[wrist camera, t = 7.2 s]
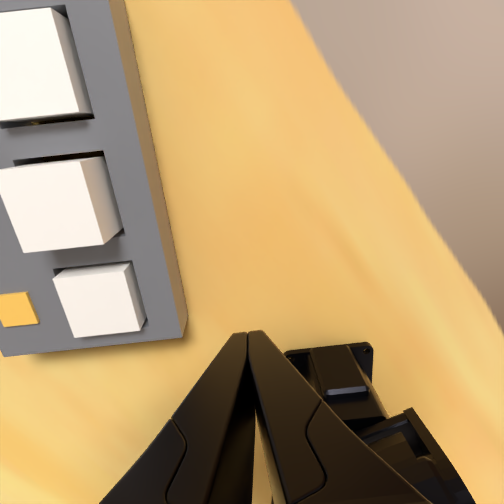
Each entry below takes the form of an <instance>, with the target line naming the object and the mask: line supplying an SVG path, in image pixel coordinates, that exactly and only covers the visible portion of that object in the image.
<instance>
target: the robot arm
mask: <svg viewBox="0 0 504 504" xmlns="http://www.w3.org/2000/svg"><path fill="white" fill-rule="evenodd" d="M366 348H367V350H365V351H363V350H364V349H366ZM289 357H292V358H291V359H288V358H289ZM372 368H373V348H372V346H371V345H370V343H368V342H362V343H352V344H343V345H334V346H325V347H316V348H307V349H298V350H289V351H286V352H285V353H284V354H283V353H282V352H281V351H280V350H279V349H278V348H277V346H276V345H275V344H274V343H273V342H272V341H271V339H270V338H269V337H268V336H267V335H266V334H265V333H264V331H262V330H257V331H250V332H248V334H247V332H240V333H233V334H232V335H231V337H230V338H229V339H228V341H227V342H226V343H225V345H224V346H223V347H222V349H221V350H220V352H219V353H218V354H217V356H216V357H215V358H214V360H213V361H212V362H211V364H210V365H209V366H208V368H207V369H206V370H205V372H204V373H203V375H202V376H201V377H200V379H199V380H198V381H197V383H196V384H195V385H194V387H193V388H192V389H191V391H190V392H189V394H188V395H187V396H186V398H185V399H184V400H183V402H182V403H181V404H180V406H179V407H178V408H177V410H176V411H175V412H174V414H173V415H172V417H171V419H169V420H168V422H167V423H166V424H165V426H164V427H163V429H162V430H161V431H160V433H159V434H158V435H157V436H156V438H155V439H154V440H153V442H152V443H151V444H150V445H149V447H148V448H147V449H146V450H145V452H144V453H143V454H142V455H141V456H140V458H139V459H138V460H137V461H136V462H135V463H134V464H133V466H132V467H131V468H130V469H129V470H128V471H127V473H126V474H125V475H124V476H123V477H122V478H121V479H120V480H119V482H118V483H117V484H116V485H115V486H114V487H113V488H112V489H111V491H110V492H109V493H108V494H107V495H106V496H105V497H104V498H103V499H102V501H101V502H100V503H99V504H252V487H253V465H254V444H255V419H256V416H257V422H258V427H259V432H260V437H261V442H262V447H263V452H264V457H265V462H266V467H267V472H268V477H269V482H270V487H271V491H272V503H271V504H476V503H475V501H474V499H473V498H472V496H471V494H470V493H469V491H468V489H467V487H466V486H465V484H464V483H463V481H462V479H461V478H460V476H459V474H458V473H457V471H456V470H455V468H454V467H453V465H452V464H451V462H450V461H449V459H448V458H447V456H446V455H445V453H444V452H443V450H442V449H441V448H440V446H439V445H438V443H437V442H436V441H435V439H434V438H433V436H432V435H431V433H430V432H429V431H428V429H427V428H426V426H425V425H424V423H423V422H422V421H421V419H420V418H419V416H418V415H417V414H416V412H415V411H414V409H413V408H412V407H411V408H409V409H406V410H404V411H403V412H404V413H401V414H399V415H396V416H393V417H391V418H389V416H388V414H387V412H386V411H385V409H384V407H383V405H382V403H381V401H380V399H379V397H378V395H377V393H376V391H375V389H374V388H373V386H372ZM255 410H256V414H255Z"/></svg>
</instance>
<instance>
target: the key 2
mask: <svg viewBox="0 0 504 504" xmlns="http://www.w3.org/2000/svg"><path fill="white" fill-rule="evenodd" d="M53 282H54V284H55V287H56V290H57V293H58V295H59V298H60V301H61V303H62V306H63V309H64V311H65V314H66V317H67V319H68V322H69V325H70V327H71V330H72V333H73V335H74V338H78V337H87V336H96V335H105V334H115V333H124V332H133V331H140V330H141V328H142V326H143V323H144V321H145V319H146V317H147V315H146V311H145V308H144V304H143V300H142V296H141V292H140V288H139V285H138V281H137V277H136V273H135V269H134V266H133V262H132V260H129V261H120V262H111V263H102V264H92V265H83V266H74V267H67V268H65V269H64V270H63V271H62V272H60V273H59V274H58V275H57V276H56V277H54V278H53Z"/></svg>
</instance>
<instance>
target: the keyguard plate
mask: <svg viewBox="0 0 504 504" xmlns="http://www.w3.org/2000/svg"><path fill="white" fill-rule="evenodd" d="M41 8H52V9H53V10H55V11H57V12H58V13H60V14H61V15H63V16H64V17H66V18H67V19H69V21H70V25H71V29H72V33H73V37H74V40H75V44H76V48H77V52H78V56H79V59H80V63H81V67H82V71H83V75H84V79H85V82H86V86H87V90H88V94H89V98H90V101H91V105H92V109H93V113H94V117H95V119H90V120H80V121H71V122H62V123H52V124H43V125H34V126H32V123H31V122H9V121H0V169H5V168H11V167H17V166H22V165H28V164H34V163H43V162H44V159H43V157H45V156H54V155H64V154H73V153H82V152H92V151H101V150H103V151H104V155H105V159H106V163H107V166H108V170H109V174H110V178H111V182H112V185H113V189H114V193H115V197H116V201H117V205H118V208H119V212H120V216H121V220H122V224H123V228H122V229H121V230H120V231H119V232H118V233H116V234H115V235H114V236H113V237H112V238H111V239H110V240H108V241H107V242H106V243H105V244H103V245H94V246H85V247H76V248H66V249H57V250H48V251H39V252H30V253H23V250H22V248H21V245H20V243H19V240H18V238H17V235H16V233H15V230H14V228H13V225H12V223H11V220H10V218H9V215H8V213H7V210H6V207H5V205H4V202H3V200H2V197H1V195H0V350H1V352H2V354H3V356H4V357H8V356H18V355H27V354H36V353H45V352H54V351H63V350H73V349H82V348H91V347H100V346H109V345H118V344H127V343H137V342H146V341H155V340H164V339H173V338H182V337H183V333H184V329H185V326H186V322H187V318H188V311H187V306H186V301H185V296H184V292H183V287H182V282H181V277H180V272H179V267H178V262H177V257H176V252H175V248H174V243H173V238H172V233H171V228H170V223H169V218H168V213H167V208H166V203H165V199H164V194H163V189H162V184H161V179H160V174H159V169H158V164H157V159H156V155H155V150H154V145H153V140H152V135H151V130H150V125H149V120H148V115H147V111H146V106H145V101H144V96H143V91H142V86H141V81H140V76H139V71H138V67H137V62H136V57H135V52H134V47H133V42H132V37H131V32H130V27H129V23H128V18H127V13H126V8H125V3H124V0H0V13H3V12H13V11H22V10H31V9H41ZM129 260H132V262H133V266H134V269H135V273H136V277H137V281H138V285H139V288H140V292H141V296H142V300H143V304H144V308H145V311H146V315H147V317H146V319H145V321H144V323H143V326H142V328H141V330H140V331H133V332H124V333H115V334H105V335H96V336H87V337H78V338H74V335H73V333H72V330H71V327H70V325H69V322H68V319H67V317H66V314H65V311H64V309H63V306H62V303H61V301H60V298H59V295H58V293H57V290H56V287H55V284H54V282H53V278H54V277H56V276H57V275H58V274H59V273H60V272H62V271H63V270H64V269H65V268H67V267H74V266H83V265H92V264H102V263H111V262H120V261H129Z"/></svg>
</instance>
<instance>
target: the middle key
mask: <svg viewBox="0 0 504 504" xmlns="http://www.w3.org/2000/svg"><path fill="white" fill-rule="evenodd" d="M0 195H1V197H2V200H3V202H4V205H5V207H6V210H7V213H8V215H9V218H10V220H11V223H12V225H13V228H14V230H15V233H16V235H17V238H18V240H19V243H20V245H21V248H22V250H23V253H30V252H39V251H48V250H57V249H66V248H76V247H85V246H94V245H103V244H105V243H106V242H107V241H108V240H110V239H111V238H112V237H113V236H114V235H115V234H116V233H118V232H119V231H120V230H121V229H122V228H123V224H122V220H121V216H120V212H119V208H118V205H117V201H116V197H115V193H114V189H113V185H112V182H111V178H110V174H109V170H108V166H107V163H106V159H105V156H99V157H90V158H80V159H71V160H62V161H52V162H43V163H34V164H28V165H22V166H17V167H11V168H5V169H0Z"/></svg>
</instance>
